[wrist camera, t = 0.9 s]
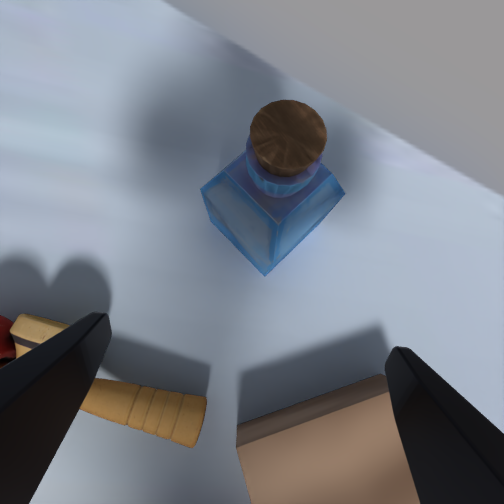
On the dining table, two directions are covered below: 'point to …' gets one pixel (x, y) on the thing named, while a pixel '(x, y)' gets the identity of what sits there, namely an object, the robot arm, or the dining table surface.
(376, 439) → the walnut plinth
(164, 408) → the kendama
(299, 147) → the perfume bottle
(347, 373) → the dining table surface
